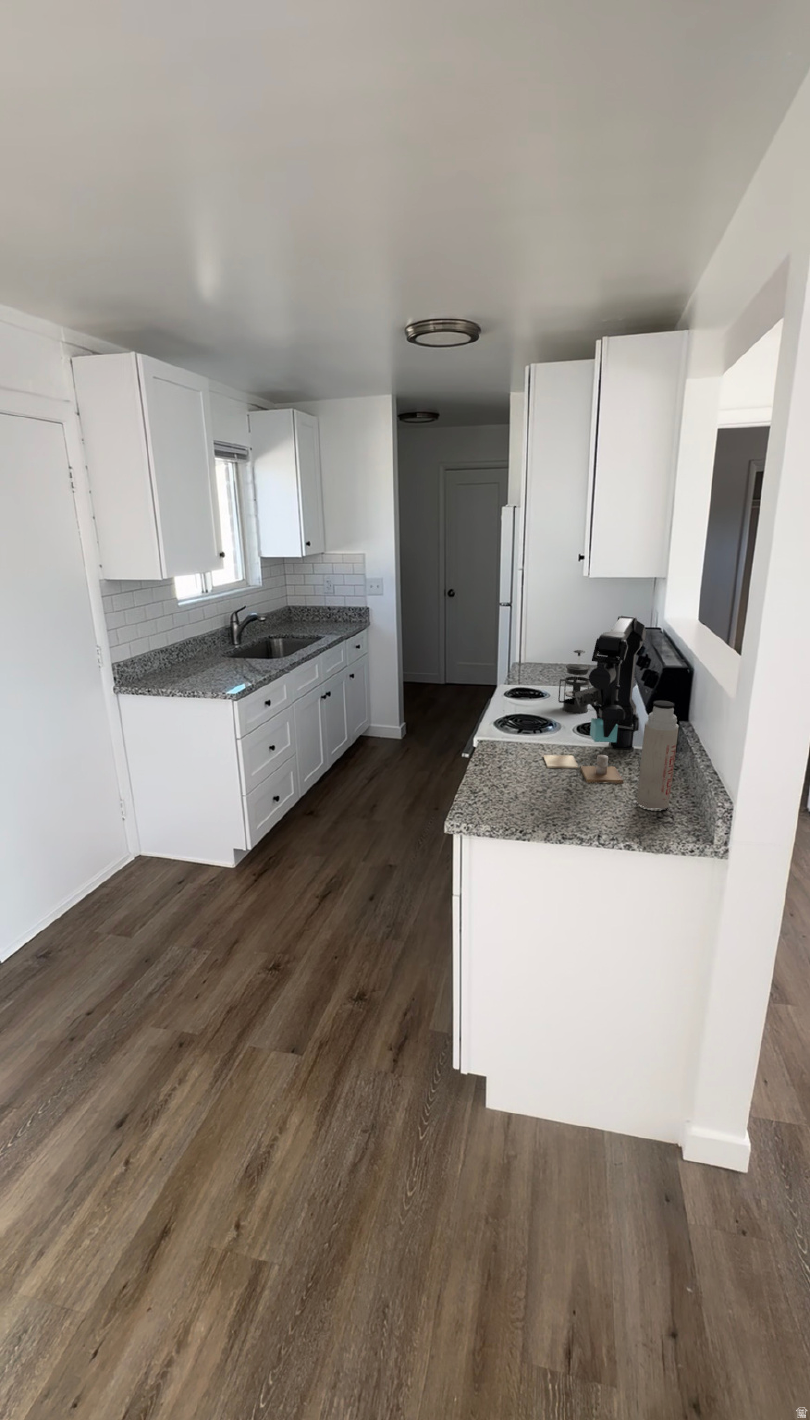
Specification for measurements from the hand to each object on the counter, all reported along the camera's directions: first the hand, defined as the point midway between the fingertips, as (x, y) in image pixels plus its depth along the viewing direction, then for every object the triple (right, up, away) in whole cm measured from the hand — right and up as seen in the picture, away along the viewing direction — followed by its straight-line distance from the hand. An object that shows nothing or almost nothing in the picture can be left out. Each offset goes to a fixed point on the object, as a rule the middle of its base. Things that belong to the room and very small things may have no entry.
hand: (603, 733), depth 190 cm
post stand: (0, -12, +3) cm, 13 cm away
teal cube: (0, -1, 0) cm, 2 cm away
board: (-9, -9, +14) cm, 19 cm away
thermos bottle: (+8, -18, -15) cm, 25 cm away
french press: (+8, +7, +64) cm, 65 cm away
